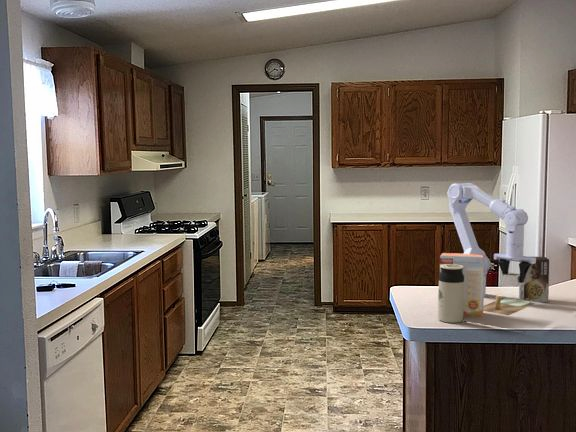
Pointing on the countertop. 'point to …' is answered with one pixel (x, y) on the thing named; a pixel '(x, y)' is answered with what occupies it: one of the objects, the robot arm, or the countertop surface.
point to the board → (506, 306)
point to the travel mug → (451, 293)
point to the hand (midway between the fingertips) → (513, 281)
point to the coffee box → (536, 282)
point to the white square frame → (511, 279)
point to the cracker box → (469, 280)
